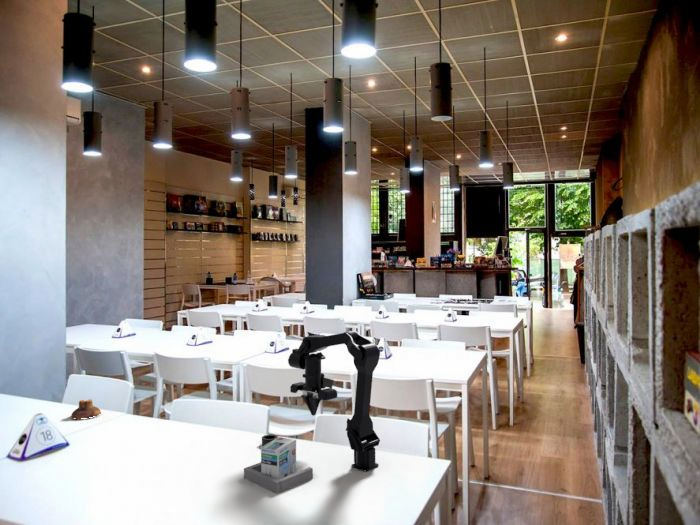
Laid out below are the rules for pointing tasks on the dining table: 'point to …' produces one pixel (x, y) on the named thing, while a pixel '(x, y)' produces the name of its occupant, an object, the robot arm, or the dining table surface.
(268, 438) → the duct tape
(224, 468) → the dining table surface
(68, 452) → the dining table surface
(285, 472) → the light bulb box
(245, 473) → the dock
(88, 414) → the brown fuzzy lump
